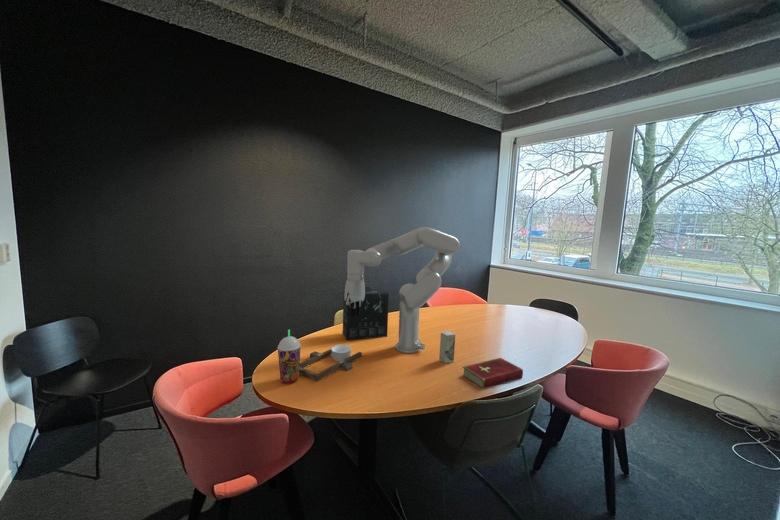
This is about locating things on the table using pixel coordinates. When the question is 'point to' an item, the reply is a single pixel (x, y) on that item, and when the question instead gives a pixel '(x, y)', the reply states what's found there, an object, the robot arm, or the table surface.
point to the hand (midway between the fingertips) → (355, 315)
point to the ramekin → (341, 352)
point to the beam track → (341, 364)
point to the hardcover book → (492, 372)
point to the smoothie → (289, 359)
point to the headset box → (367, 316)
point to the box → (447, 347)
